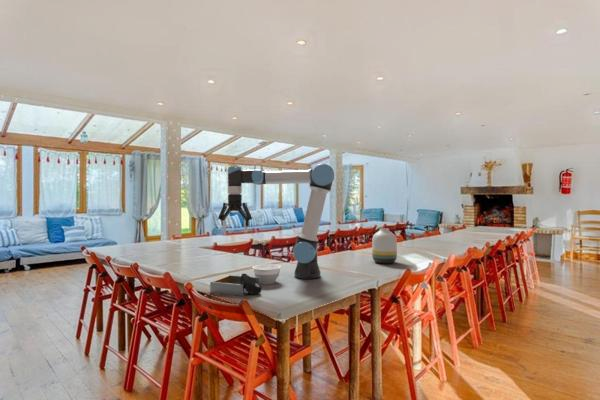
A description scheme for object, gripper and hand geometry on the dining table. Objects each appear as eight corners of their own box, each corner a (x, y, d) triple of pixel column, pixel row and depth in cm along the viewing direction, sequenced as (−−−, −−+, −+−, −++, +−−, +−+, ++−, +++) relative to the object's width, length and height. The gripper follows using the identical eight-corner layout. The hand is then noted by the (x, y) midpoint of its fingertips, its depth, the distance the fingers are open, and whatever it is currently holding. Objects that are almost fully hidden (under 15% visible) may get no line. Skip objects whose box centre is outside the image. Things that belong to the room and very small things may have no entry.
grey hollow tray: (259, 287, 177) (259, 277, 177) (243, 295, 161) (243, 285, 161) (229, 284, 183) (229, 274, 183) (210, 292, 167) (210, 282, 167)
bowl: (256, 287, 177) (256, 270, 177) (248, 280, 191) (248, 265, 191) (286, 284, 183) (285, 268, 183) (275, 278, 198) (275, 263, 198)
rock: (234, 275, 166) (248, 272, 160) (246, 273, 172) (260, 270, 166) (237, 298, 163) (252, 295, 158) (249, 295, 170) (264, 292, 164)
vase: (372, 264, 238) (372, 229, 238) (371, 260, 254) (371, 227, 254) (398, 265, 235) (398, 229, 235) (395, 260, 252) (395, 227, 252)
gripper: (258, 193, 192) (258, 232, 192) (219, 194, 201) (219, 231, 201) (251, 193, 185) (251, 233, 185) (211, 194, 194) (212, 232, 194)
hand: (235, 232), depth 193 cm, fingers open, 13 cm apart
